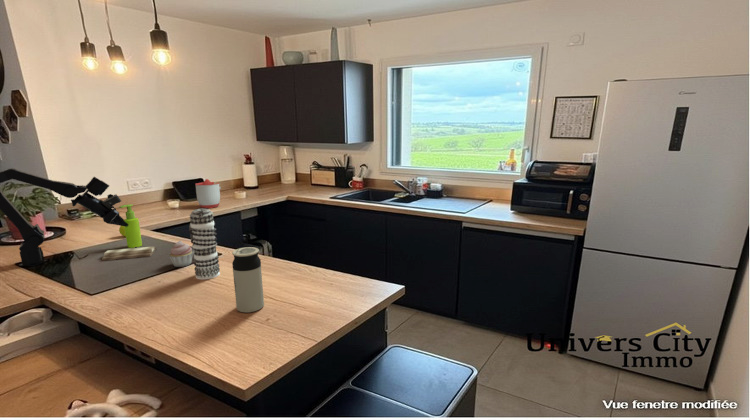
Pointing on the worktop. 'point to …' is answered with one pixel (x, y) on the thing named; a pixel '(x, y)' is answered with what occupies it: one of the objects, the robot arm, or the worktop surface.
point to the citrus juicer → (208, 194)
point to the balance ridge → (128, 253)
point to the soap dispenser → (132, 228)
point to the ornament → (122, 230)
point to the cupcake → (181, 254)
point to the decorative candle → (204, 244)
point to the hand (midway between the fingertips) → (126, 224)
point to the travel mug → (247, 279)
